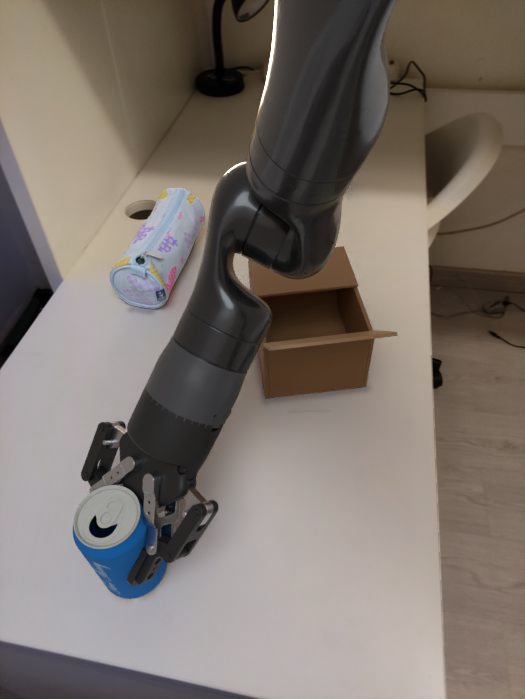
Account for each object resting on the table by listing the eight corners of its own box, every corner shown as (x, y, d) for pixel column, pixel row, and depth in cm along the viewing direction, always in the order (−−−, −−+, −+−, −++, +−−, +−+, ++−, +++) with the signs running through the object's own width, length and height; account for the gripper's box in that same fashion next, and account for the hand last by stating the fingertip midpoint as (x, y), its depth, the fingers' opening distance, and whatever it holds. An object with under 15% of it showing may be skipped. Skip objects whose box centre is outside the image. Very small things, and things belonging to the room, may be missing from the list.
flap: (375, 330, 61) (375, 333, 61) (263, 343, 60) (263, 346, 60) (397, 331, 53) (397, 335, 53) (268, 346, 52) (269, 351, 52)
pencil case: (168, 318, 78) (156, 267, 71) (113, 310, 80) (96, 259, 73) (211, 234, 92) (204, 184, 85) (163, 228, 93) (153, 179, 86)
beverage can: (91, 586, 53) (52, 537, 44) (125, 527, 57) (95, 471, 48) (148, 611, 51) (119, 565, 42) (179, 549, 55) (159, 494, 46)
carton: (366, 386, 69) (376, 330, 61) (265, 399, 68) (262, 343, 60) (338, 302, 79) (344, 245, 72) (251, 312, 79) (247, 256, 71)
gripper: (104, 355, 46) (33, 515, 49) (223, 449, 40) (133, 627, 43) (161, 360, 53) (95, 501, 56) (272, 441, 46) (190, 596, 49)
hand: (112, 555), depth 49 cm, fingers closed on beverage can, 6 cm apart
